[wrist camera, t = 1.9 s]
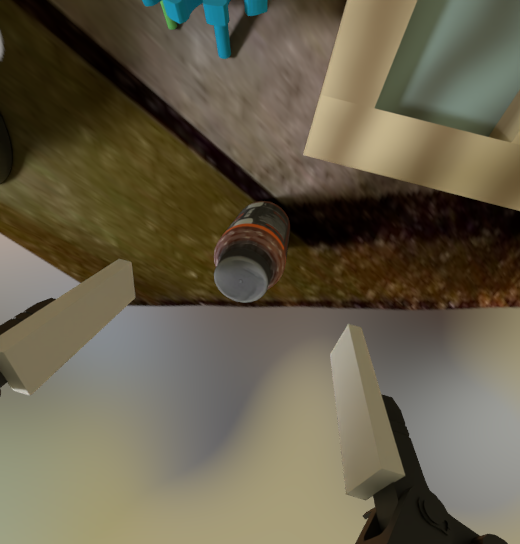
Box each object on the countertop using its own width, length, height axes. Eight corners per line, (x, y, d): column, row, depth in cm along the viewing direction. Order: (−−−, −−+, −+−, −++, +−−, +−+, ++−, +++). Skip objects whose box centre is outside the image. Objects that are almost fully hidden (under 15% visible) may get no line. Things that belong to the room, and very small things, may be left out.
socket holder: (303, 152, 21) (303, 155, 19) (414, -237, 11) (445, -342, 9) (493, 201, 21) (520, 211, 18) (774, -160, 11) (914, -248, 9)
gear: (324, -100, 13) (252, 11, 11) (304, 31, 19) (255, 120, 17) (158, -141, 14) (63, -47, 12) (187, -6, 20) (127, 74, 18)
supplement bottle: (242, 193, 24) (202, 231, 14) (297, 207, 24) (293, 254, 14) (235, 243, 27) (198, 301, 18) (282, 255, 27) (272, 321, 17)
